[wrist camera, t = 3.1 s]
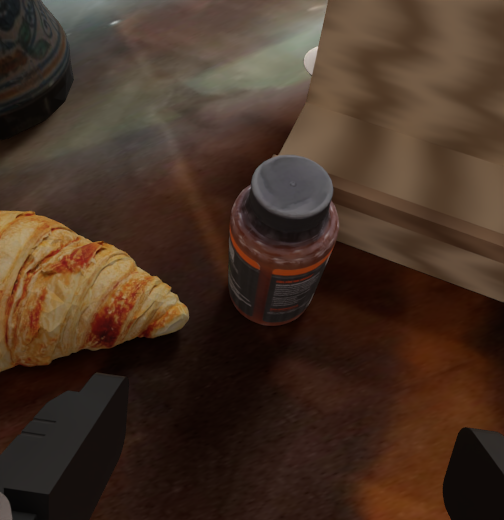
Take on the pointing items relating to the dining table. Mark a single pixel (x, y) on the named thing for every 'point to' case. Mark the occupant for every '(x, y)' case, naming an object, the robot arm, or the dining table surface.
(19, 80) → the beer stein
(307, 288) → the supplement bottle
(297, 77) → the dining table surface
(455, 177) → the board
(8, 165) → the dining table surface
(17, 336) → the croissant
